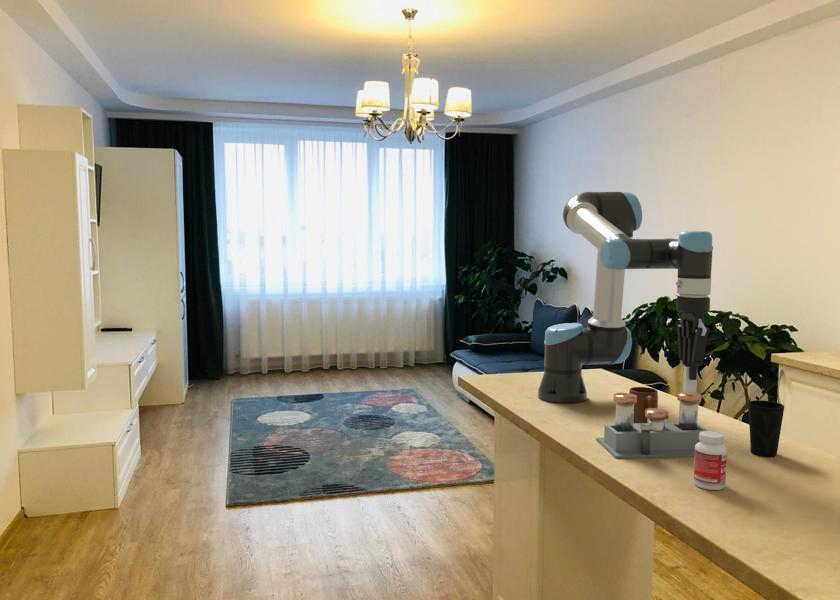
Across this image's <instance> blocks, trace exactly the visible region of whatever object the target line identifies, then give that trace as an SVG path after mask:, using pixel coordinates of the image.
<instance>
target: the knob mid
mask: <svg viewBox="0 0 840 600" xmlns="http://www.w3.org/2000/svg"><path fill="white" fill-rule="evenodd" d="M669 413H670V412H669V411H668V410H667V409H663V408H648V409H646V410H645V417H647V424H649V425H652V430H650V431H665V425H666V423H667V420H668V419H669Z"/></svg>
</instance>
